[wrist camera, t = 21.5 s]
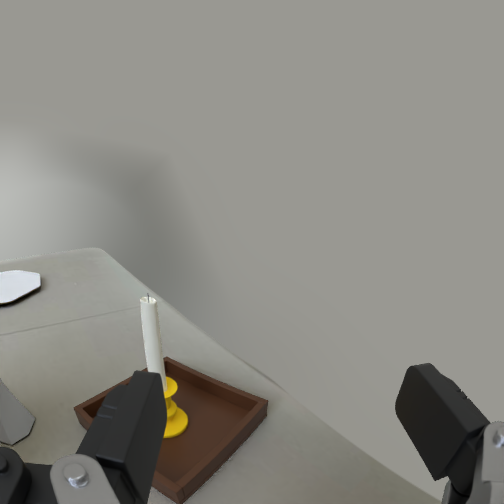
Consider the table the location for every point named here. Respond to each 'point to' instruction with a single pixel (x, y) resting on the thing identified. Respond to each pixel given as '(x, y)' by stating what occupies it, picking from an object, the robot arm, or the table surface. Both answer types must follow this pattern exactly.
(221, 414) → the tray
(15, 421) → the flask
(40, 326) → the table surface
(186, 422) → the candle
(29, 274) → the plate
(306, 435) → the table surface
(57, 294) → the table surface
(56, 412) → the table surface
